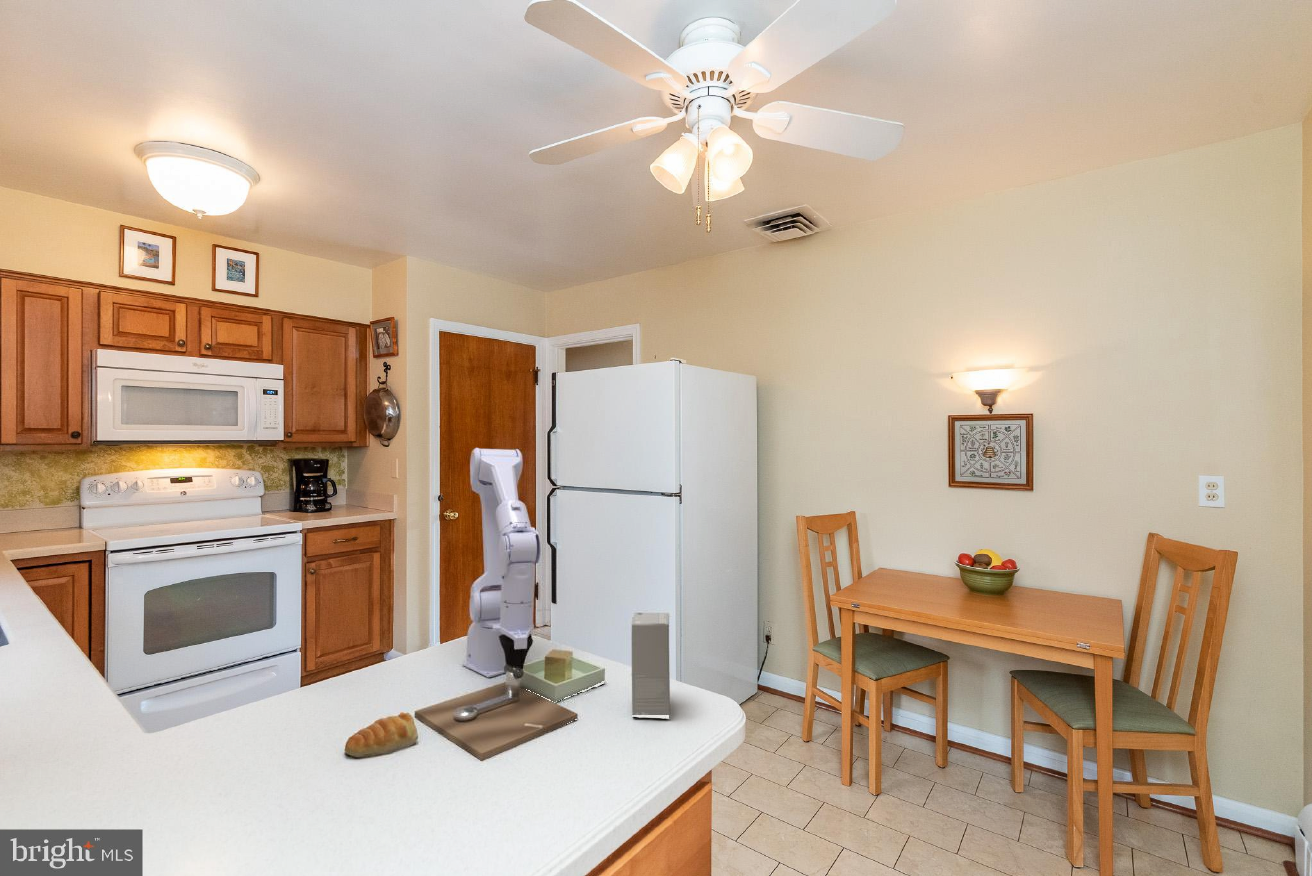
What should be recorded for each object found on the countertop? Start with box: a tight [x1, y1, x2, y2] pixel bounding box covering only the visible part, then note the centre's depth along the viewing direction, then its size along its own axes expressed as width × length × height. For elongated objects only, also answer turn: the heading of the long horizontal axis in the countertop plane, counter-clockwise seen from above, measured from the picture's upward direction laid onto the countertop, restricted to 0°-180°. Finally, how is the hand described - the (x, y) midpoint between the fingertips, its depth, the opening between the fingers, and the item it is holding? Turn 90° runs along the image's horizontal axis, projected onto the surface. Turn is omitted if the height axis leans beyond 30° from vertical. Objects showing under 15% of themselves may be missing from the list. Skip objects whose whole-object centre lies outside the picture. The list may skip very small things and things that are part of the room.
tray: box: [520, 655, 606, 702], centre depth 112 cm, size 12×12×3 cm
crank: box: [453, 664, 524, 721], centre depth 98 cm, size 12×5×6 cm, turn 139°
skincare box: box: [631, 612, 671, 716], centre depth 103 cm, size 8×7×16 cm
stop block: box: [544, 649, 574, 684], centre depth 112 cm, size 4×4×5 cm
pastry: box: [344, 712, 419, 759], centre depth 87 cm, size 9×7×4 cm
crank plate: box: [414, 681, 578, 761], centre depth 97 cm, size 19×18×1 cm
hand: (514, 677), depth 106 cm, fingers closed
